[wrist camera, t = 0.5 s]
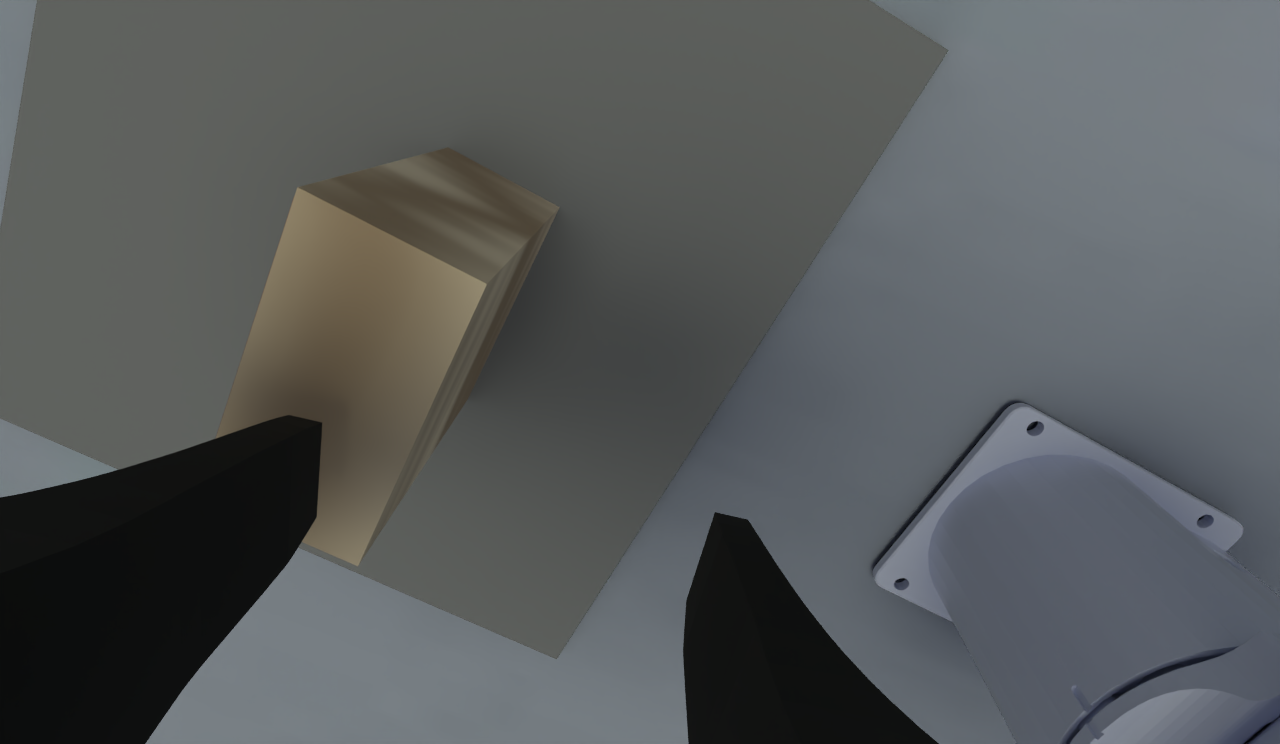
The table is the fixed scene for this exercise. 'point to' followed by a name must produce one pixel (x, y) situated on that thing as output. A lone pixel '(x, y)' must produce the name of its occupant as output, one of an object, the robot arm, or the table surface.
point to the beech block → (384, 324)
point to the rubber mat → (493, 137)
